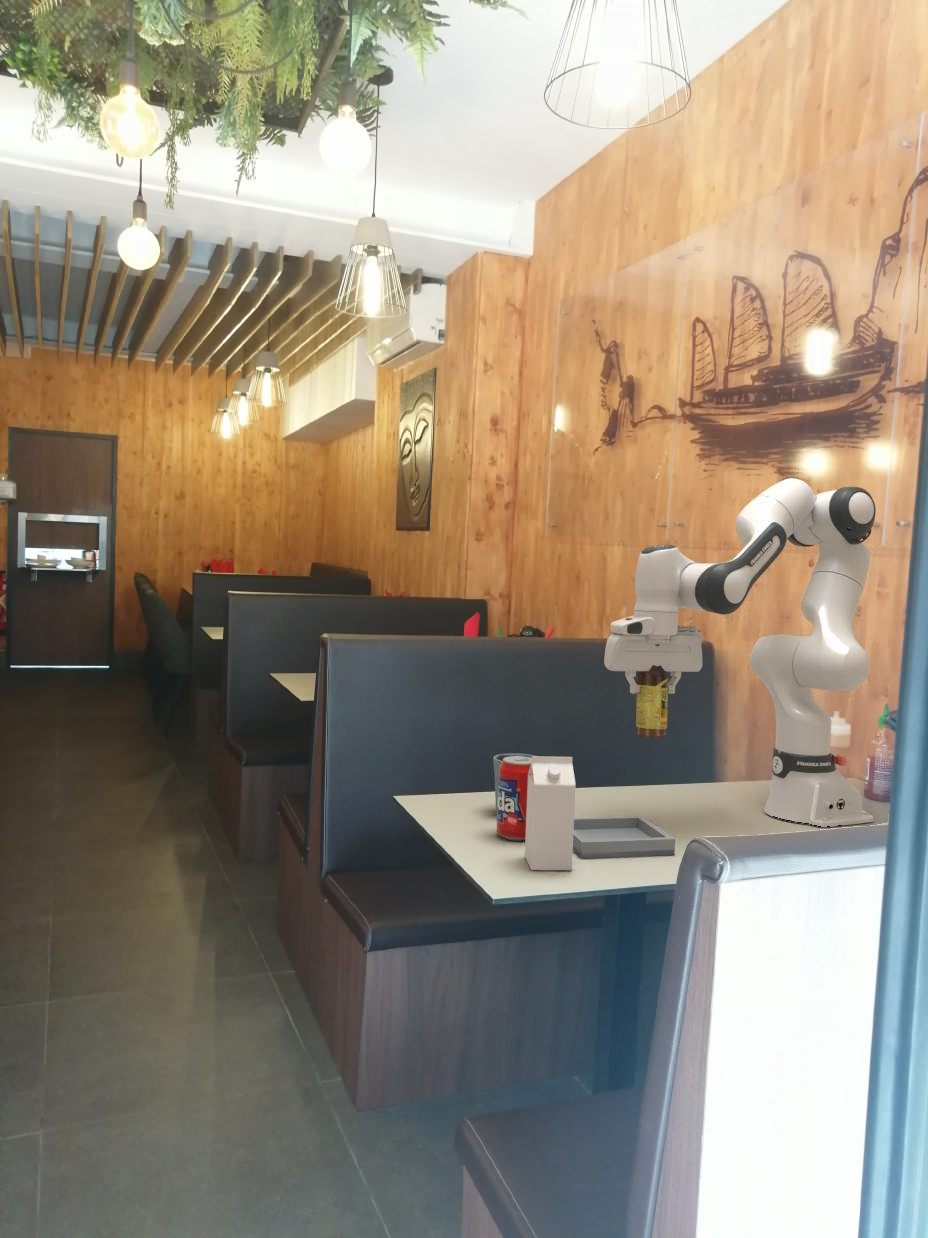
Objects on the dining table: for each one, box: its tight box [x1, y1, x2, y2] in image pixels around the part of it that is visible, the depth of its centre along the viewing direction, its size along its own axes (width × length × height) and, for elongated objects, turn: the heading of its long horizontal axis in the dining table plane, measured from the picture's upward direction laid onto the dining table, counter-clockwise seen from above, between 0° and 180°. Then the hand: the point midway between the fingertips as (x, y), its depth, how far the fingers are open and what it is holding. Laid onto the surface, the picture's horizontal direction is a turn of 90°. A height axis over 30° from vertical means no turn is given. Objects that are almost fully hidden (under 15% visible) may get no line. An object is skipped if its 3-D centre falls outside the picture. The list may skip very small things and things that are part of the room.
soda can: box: [496, 756, 532, 842], centre depth 170 cm, size 8×8×15 cm
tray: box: [573, 815, 676, 860], centre depth 168 cm, size 18×15×3 cm
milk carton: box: [524, 755, 577, 871], centre depth 154 cm, size 7×7×19 cm
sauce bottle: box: [635, 644, 669, 739], centre depth 180 cm, size 7×6×20 cm
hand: (652, 693), depth 180 cm, fingers closed on sauce bottle, 6 cm apart
